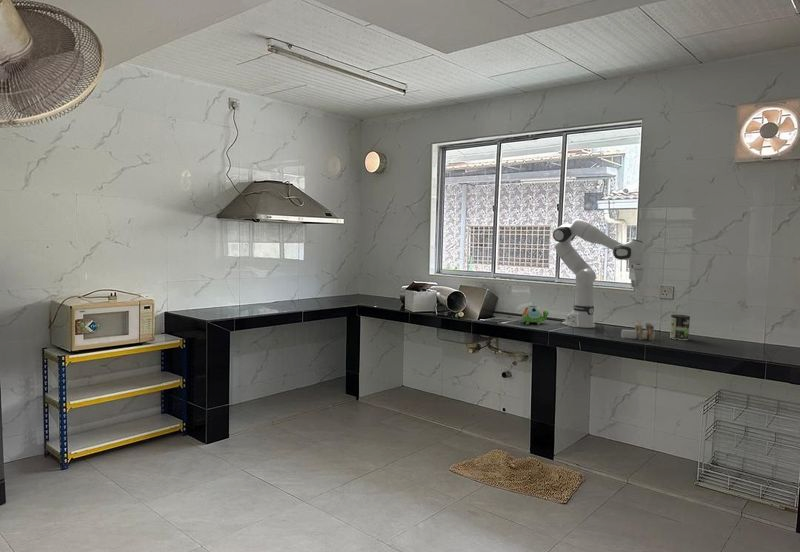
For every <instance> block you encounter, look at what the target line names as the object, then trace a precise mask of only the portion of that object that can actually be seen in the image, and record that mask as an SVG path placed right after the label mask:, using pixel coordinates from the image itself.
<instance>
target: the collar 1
mask: <svg viewBox="0 0 800 552" xmlns="http://www.w3.org/2000/svg"><path fill="white" fill-rule="evenodd" d="M634 326H635V327H634V330H639V331H638V339H637V340H639V341H643V339H642V338H643V331H644V325H643V324H641V323H640V322H635V325H634Z"/></svg>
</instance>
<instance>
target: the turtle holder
mask: <svg viewBox="0 0 800 552" xmlns="http://www.w3.org/2000/svg"><path fill="white" fill-rule="evenodd" d="M549 313H550V312H549V310H548V309H544V310H543V312H542V310H541V309H540V308H539V306H537V305H527V307H525V308H524V310H523V312H522V319H521V320H522V321H523V322H524V323H525V325H530V323H536V325H541V322H545V321H546V320H547V318H548V315H549Z"/></svg>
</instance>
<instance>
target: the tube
mask: <svg viewBox="0 0 800 552" xmlns="http://www.w3.org/2000/svg"><path fill="white" fill-rule="evenodd" d="M638 331H639V330H635V329H621V333H620V337H621V338H622V339H630V340H631V339H632V340H634V339H635V340H638ZM655 337H656V332H655V331H654V333H653V341H654V340H655ZM648 339H649V331H645V330H643V338H642V340H648Z"/></svg>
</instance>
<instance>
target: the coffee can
mask: <svg viewBox="0 0 800 552" xmlns="http://www.w3.org/2000/svg"><path fill="white" fill-rule="evenodd" d="M690 320H691V316H690V315H685V314H671V316H670V328H669V330H670V331H669V334H670V335H669V339H671V338H672V339H671V340H676V339H678V340H677V341H689V340H688V339H690V337H689V335H690Z"/></svg>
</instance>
